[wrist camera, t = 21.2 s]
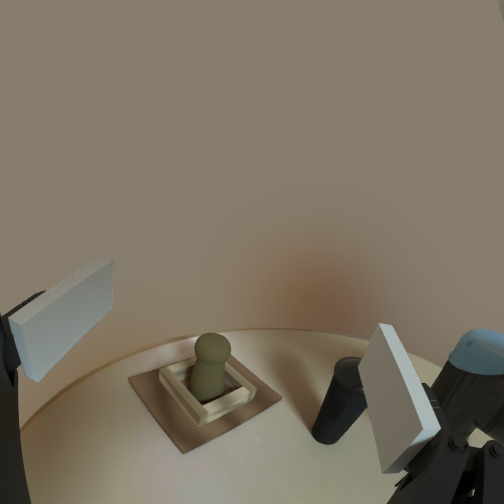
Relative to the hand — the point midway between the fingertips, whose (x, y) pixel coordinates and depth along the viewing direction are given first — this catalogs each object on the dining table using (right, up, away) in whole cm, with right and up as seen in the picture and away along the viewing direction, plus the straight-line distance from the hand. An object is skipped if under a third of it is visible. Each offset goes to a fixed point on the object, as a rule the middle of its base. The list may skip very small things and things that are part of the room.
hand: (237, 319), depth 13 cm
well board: (-7, -20, +31) cm, 37 cm away
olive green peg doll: (-7, -19, +30) cm, 37 cm away
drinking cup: (+12, -26, +26) cm, 39 cm away
